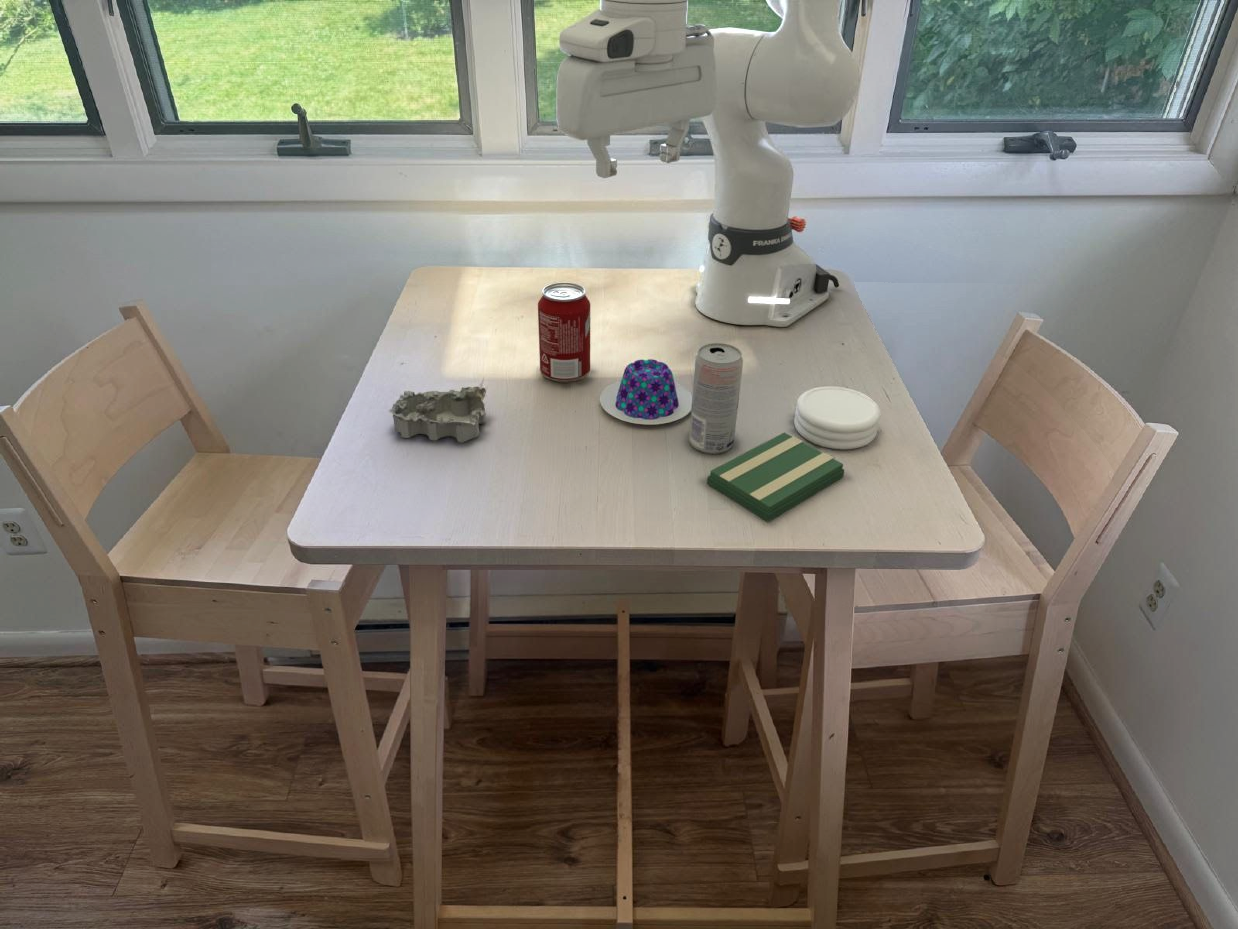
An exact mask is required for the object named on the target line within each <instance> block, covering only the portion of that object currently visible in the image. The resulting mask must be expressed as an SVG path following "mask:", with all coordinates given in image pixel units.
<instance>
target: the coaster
mask: <svg viewBox="0 0 1238 929" xmlns="http://www.w3.org/2000/svg"><path fill="white" fill-rule="evenodd" d="M794 413H795V415H794V418H793V423H794V427H795V430H796V431H797V433H798V434H799V435H800V436H802V437H803V439H805V440H806V441H808V442H810V443H812V444H814V445H817V446H819V447H823V448H827V449H832V450H853V449H860V448H862V447H865V446H867V445H869V444H870V443H872V442H873V441H874V439H875V438H876V436H877V434H878V429H879V425H880V422H879V421H880V420H881V409H880V407H879V405H878V403H876V402H875V400H873V399H872V398H871V397H869V396H868V395H866V394H864V393H863V392H860V391H858V390H855V389H851V388H847V387H842V386H833V385H831V386H830V385H829V386H818V387H814V388H810V389H809V390H806V391H805V392H803V393H802V394H800V396H799V397H798V399H797V400H796V408H795V412H794Z"/></svg>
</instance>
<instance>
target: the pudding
mask: <svg viewBox="0 0 1238 929" xmlns="http://www.w3.org/2000/svg"><path fill="white" fill-rule="evenodd" d="M692 395H693V394H692V393H691V392H690V391H689V390H688V389H687V388H686V387H684V386H683V385H681V384H679V383H677V382H675V379H674V373H673V371H672V369H671V368H670V367H669V365H668V364H667V363H665V362H663V361H658V360H657V359H654V358H648V359H636V360H634V362H630V363H629V364H626V367H625V368H624V371H623V374H622V377H621V379H620V380H617V381H615V382H612V383H611V384H609V385H608V386H606V387H605V388H604V389H603V390H602V391H601V392H600V396H599V403H600V406H601V407H602V409H603V410H604V411H605V412H606V413H607V414H609V415H611V416H612V417H614V418H616V419H618V420H621V421H623V422H627V423H631V424H635V425H636V424H637V425H663V424H667V423H668V424H669V423H672V422H675V421H678V420H680V419H683V418H684V417H686V416H687V415H688V414H689V413H691V408H692Z"/></svg>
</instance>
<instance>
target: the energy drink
mask: <svg viewBox="0 0 1238 929" xmlns="http://www.w3.org/2000/svg"><path fill="white" fill-rule="evenodd" d="M742 355H743V354H742V351H741V350H740V348H738V347H737V346H735V345H732V344H729V343H723V342H711V343H706V344H704V345H703V344H702V346H700V347H699V348H698V349H697V352H696V355H695V359H694V370H693V371H694V372H693V384H692V394H691V395H692V408H691V411H690V422H689V423H690V424H689V434H688V441H689V443H690V445H691V446H692V447H693V448H694V449H695V450H697V451H699V452H700V453H704V454H709V455H718V454H723V453H726V452H728V451H729V450H730V449H731V448H732V447H733V446H734V444H735V436H736V428H737V419H738V410H739V409H738V408H739V400H740V392H741V385H742V384H741V383H742V374H743V366H744V359H743V356H742Z"/></svg>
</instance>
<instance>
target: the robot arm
mask: <svg viewBox="0 0 1238 929" xmlns="http://www.w3.org/2000/svg"><path fill="white" fill-rule="evenodd" d="M765 2H766V3H767V5H768V6H769V8H770V9H771V10H772V11H773V12H774V13H775V14H776V15H777V16H778V17H780V18H781V19H782V20H781V24H780V26H779V27H778V29H777V30H776V31H770V32H769V31H760V30H752V29H746V28H739V27H738V28H737V27H722V28H712V29H708V28H707V26H706V25H705V24H701V23H698V24H694V25H687V23H688V10H689V9H688V7H689V0H599V8H598V9H595V10H593V11H592V12H591V13H589V14H588V15H587V16H585V17H583V18H581V19H579V20H578V21H576V22H574V23H572V24H571V25H569V26H567V27H566V28H563V30H562V31H560V34H559V36H558V46H559V49H560V51H561V53H563V54H565V55H567V56H565V57H564V59H562V61H561V63H560V65H559V67H558V70H557V77H556V94H555V96H556V99H555V102H556V104H555V105H556V106H555V107H556V109H555V110H556V111H555V112H556V113H555V114H556V123H557V126H558V128H559V129H560V131H561V133H562V134H563V135H564V136H566V137H569V138H570V139H571V138H572V139H575V140H578V141H586V143H587V146H588V148H589V150H590V151H591V152H590V153H592V155H593V157H594V159H595V172H596V175H597V177H600V178H603V179H607V178H608V179H609V178H611V177H615V176H617V174H618V170H617V167H618V160H617V159H615V158H611V156H610V154H609V151H608V149H607V147H608V146H610V145H611V136H612V135H617V134H623V133H628V132H634V131H638V130H644V129H647V128H653V127H658V126H662V125H667V127H668V128H670V130H669V132H668V135H667V138H666V140H665V143H661V144H659V151H660V154H659V159H660V161H661V162H663V163H666V164H672V163H675V162H679V161H680V157H681V146H682V145H683V142H684V141H685V139H686V137H687V134H688V133H689V131H690V122H691V120H693V119H698V118H700V120H701V122H702V123H703V126H704V128H705V130H706V133H707V136H708V138H709V141H710V145H711V149H712V153H713V159H714V160H713V161H714V195H713V210H712V211H713V212H712V213H711V214H710V216H709V222H708V225H707V226H708V227H707V228H708V231H707V232H708V233H707V241H709V242H708V243H707V244H706V247H705V252H704V256H703V263H702V265H701V266H700V267H699V272H701V274H700V280H699V281H698V282H696V284H695V293H696V294H697V295H696V298H695V301H694V305H695V307H696V309H697V310H698V311H699V312H700V313H701V314H703V315H704V316H706V317H708V318H709V319H712V320H715V321H717V322H722V323H725V324H732V325H738V326H739V325H740V326H741V325H742V326H769V327H777V328H787V327H789V326H790V325H792V324H793V323H795V322H796V321H798V320H799V319H801V318H802V317H803V316H805V315H807V314H808V313H809V312H811V311H812V310H814V309H816V308H817V307H818V306H820V305H821V304H823V303H824V302H825V301H827V300H828V299H829V290H828V289H829V283H830V281H831V282H832V283H833V288H835V289H836V288H838V287H840V283H839V280H838V278H837V276H835V275H832V274H831V273H830V272H828V271H826V270H825V269H824V268H823V267H821V266H820V265H818V264H817V263H816V261H815V260H814V259H813V257H812V256H810V255H809V254H808V253H807V252H806V251H805V250H804V249H802V247H800V246H799V245H798V244H797V243H796V242H795V241H794V236H793V231H795V232H797V233H802V232H804V229H806V225H807V221H806V219H805V218H801V217H797V215H795V216H792V217H791V218H790V217H789V215H790V214H789V213H790V206H791V200H792V191H793V183H794V176H795V175H794V174H795V173H794V168H793V165H792V162H791V160H790V157H788V155H787V154H786V153H785V152H783V150H781V149H780V148H779V147H778V145H776V143H774V141H773V140H772V138H771V136H770V135H769V133H768V130H767V125H766V123H771V124H775V125H782V126H788V127H792V128H793V127H794V128H799V129H802V128H803V129H805V128H822V127H823V128H824V127H834V126H835V125H837V124H838V123H840V121H842V120H843V119H844V118H845V117H846V116H847V115H848V113H849V112H850V110H851V109H852V107H853V106H854V104H855V101H856V99H857V96H858V94H859V88H860V82H861V80H860V78H861V76H860V69H859V64H858V62H857V59H856V57H855V55H854V53H853V52H852V50H851V48H849V46H848V45H847V44H846V42H845V40H844V37H843V36H842V32H841V28H840V8H841V4H842V0H765Z"/></svg>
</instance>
